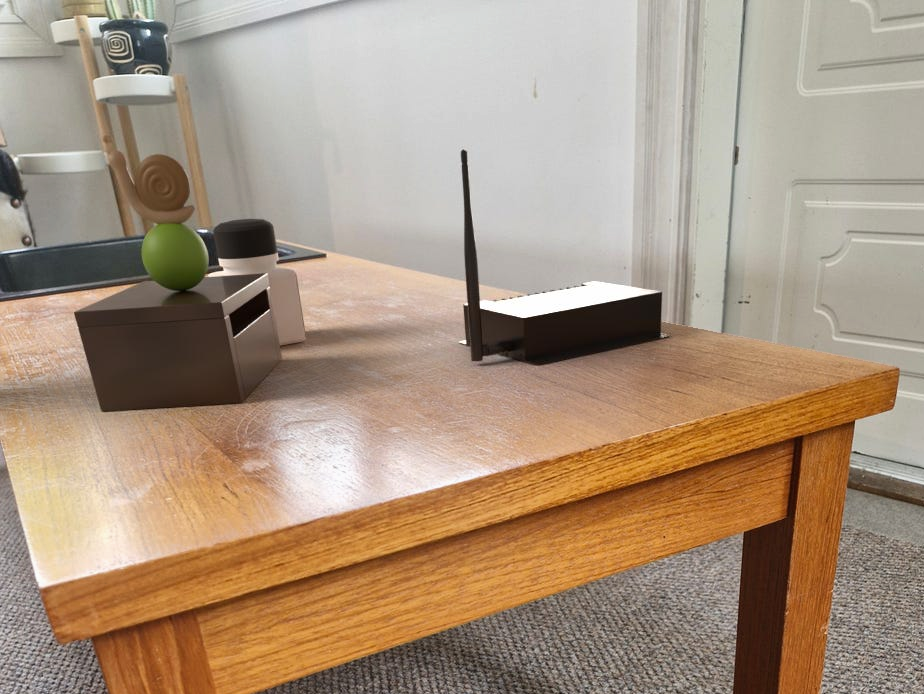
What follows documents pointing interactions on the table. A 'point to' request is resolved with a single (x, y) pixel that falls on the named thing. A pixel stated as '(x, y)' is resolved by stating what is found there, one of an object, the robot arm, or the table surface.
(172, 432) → the table surface
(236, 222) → the medicine bottle
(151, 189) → the snail figurine
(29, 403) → the table surface
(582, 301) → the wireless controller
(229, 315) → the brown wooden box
